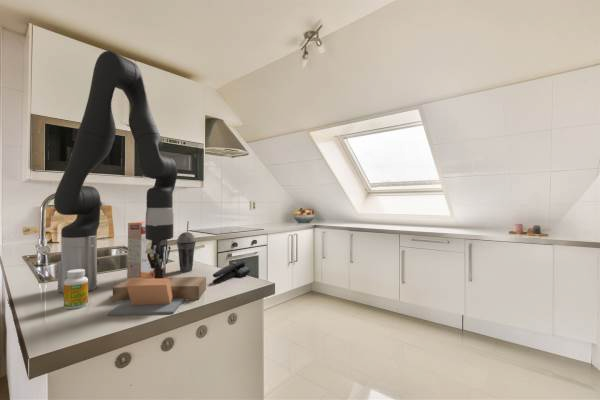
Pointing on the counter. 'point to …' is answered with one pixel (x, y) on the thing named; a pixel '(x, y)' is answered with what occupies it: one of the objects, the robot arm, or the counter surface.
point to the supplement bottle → (75, 289)
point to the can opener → (231, 271)
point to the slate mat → (146, 308)
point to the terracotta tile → (149, 291)
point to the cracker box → (139, 252)
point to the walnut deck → (179, 286)
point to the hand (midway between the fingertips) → (159, 281)
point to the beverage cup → (186, 250)
